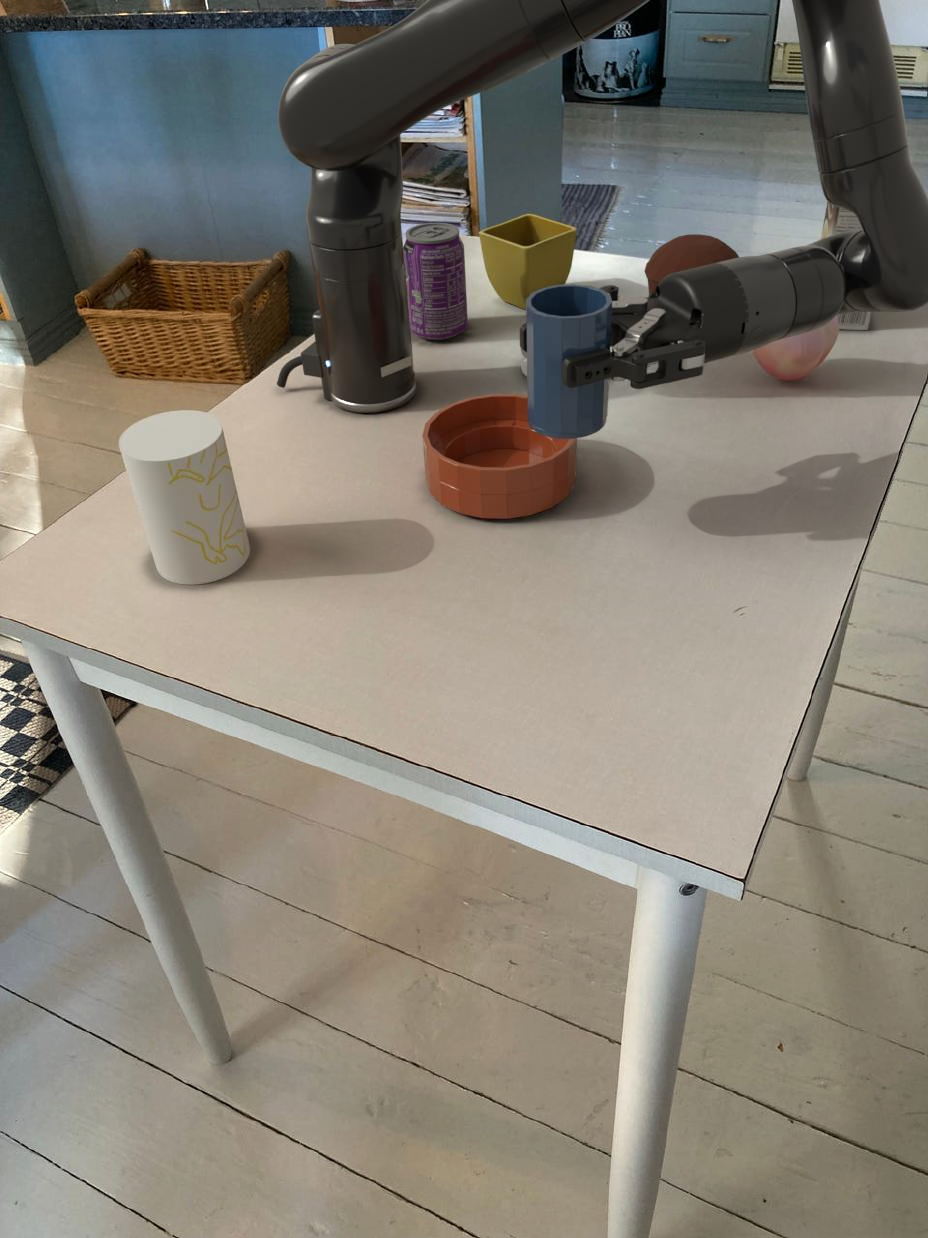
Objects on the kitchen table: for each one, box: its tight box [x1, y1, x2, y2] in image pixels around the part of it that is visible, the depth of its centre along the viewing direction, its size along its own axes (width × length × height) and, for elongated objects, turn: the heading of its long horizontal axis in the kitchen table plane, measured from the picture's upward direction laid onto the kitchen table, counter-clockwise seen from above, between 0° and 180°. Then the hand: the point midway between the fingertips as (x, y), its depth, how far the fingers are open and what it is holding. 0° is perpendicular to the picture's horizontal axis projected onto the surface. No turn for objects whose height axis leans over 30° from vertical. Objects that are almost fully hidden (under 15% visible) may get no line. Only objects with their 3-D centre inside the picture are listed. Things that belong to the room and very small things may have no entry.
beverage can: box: [403, 222, 469, 341], centre depth 117 cm, size 7×7×12 cm
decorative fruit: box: [752, 316, 840, 382], centre depth 104 cm, size 9×8×10 cm
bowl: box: [421, 393, 578, 520], centre depth 92 cm, size 14×14×6 cm
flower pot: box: [478, 213, 578, 311], centre depth 124 cm, size 9×9×9 cm
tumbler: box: [525, 283, 612, 439], centre depth 78 cm, size 6×6×10 cm
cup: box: [118, 409, 251, 586], centre depth 83 cm, size 8×8×12 cm
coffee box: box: [820, 201, 873, 331], centre depth 114 cm, size 9×6×16 cm
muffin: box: [644, 233, 740, 297], centre depth 116 cm, size 12×11×10 cm
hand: (543, 356), depth 77 cm, fingers closed on tumbler, 6 cm apart
